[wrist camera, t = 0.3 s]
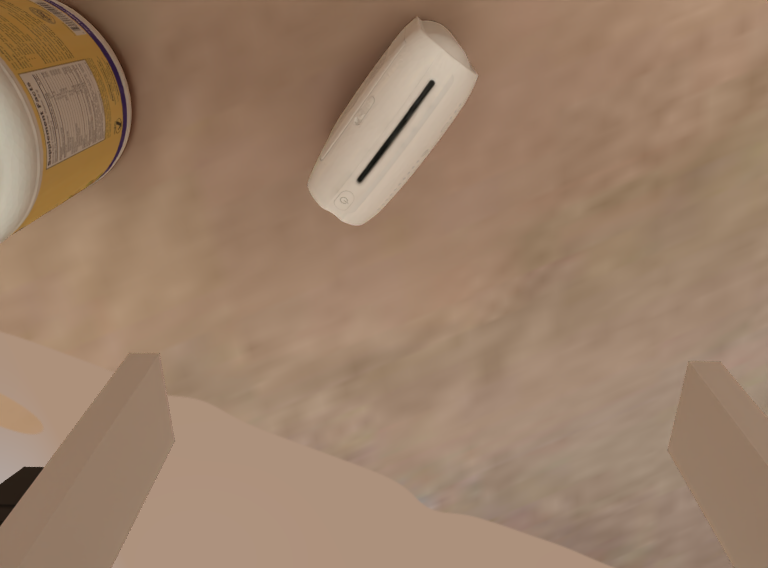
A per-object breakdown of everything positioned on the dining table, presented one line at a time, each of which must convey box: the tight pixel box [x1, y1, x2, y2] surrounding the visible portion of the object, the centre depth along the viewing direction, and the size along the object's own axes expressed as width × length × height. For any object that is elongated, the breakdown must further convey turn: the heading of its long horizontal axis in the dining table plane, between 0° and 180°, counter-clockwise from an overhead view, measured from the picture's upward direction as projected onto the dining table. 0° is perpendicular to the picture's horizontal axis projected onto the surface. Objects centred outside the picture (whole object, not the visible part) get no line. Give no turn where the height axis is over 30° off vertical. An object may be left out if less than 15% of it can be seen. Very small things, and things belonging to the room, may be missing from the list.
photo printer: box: [307, 17, 478, 226], centre depth 34 cm, size 10×4×12 cm, turn 143°
